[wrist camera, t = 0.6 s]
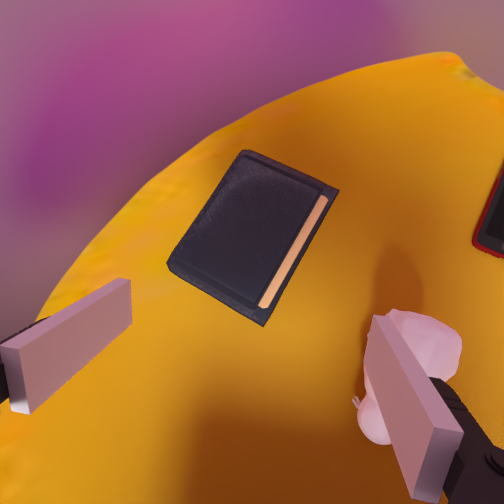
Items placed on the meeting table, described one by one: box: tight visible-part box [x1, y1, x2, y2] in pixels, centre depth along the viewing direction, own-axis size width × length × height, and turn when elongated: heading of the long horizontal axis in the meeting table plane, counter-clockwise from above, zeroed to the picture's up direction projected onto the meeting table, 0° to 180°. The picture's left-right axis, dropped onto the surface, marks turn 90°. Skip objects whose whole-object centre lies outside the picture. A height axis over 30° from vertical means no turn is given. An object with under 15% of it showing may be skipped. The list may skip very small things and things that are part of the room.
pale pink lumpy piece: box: [352, 309, 462, 445], centre depth 25 cm, size 6×8×12 cm
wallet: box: [166, 150, 340, 327], centre depth 35 cm, size 20×2×15 cm
